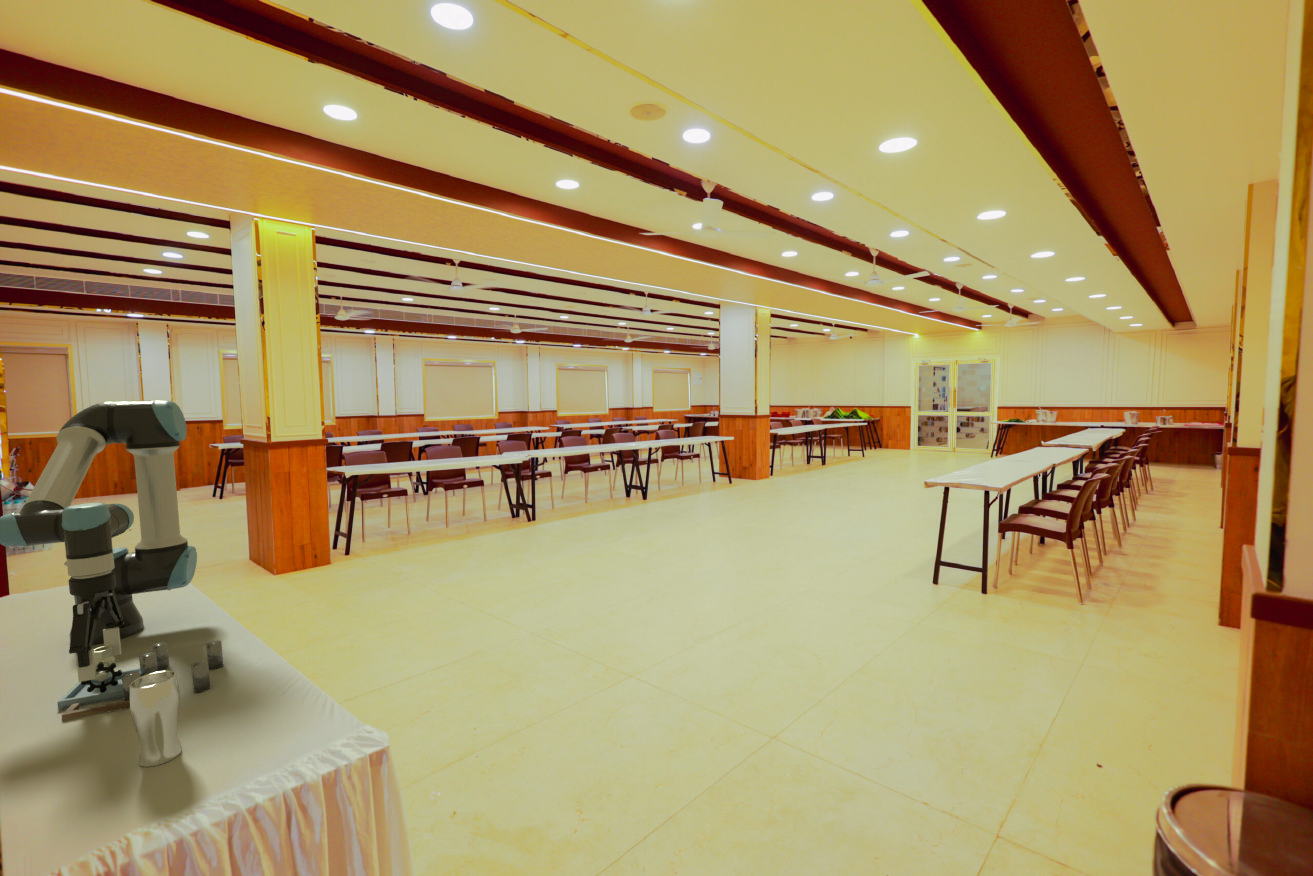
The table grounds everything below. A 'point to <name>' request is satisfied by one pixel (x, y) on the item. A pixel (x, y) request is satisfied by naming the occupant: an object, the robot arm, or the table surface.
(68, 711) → the hook tool
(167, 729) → the beer glass
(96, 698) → the tray
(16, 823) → the table surface
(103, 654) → the valve
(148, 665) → the spacers
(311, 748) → the table surface
